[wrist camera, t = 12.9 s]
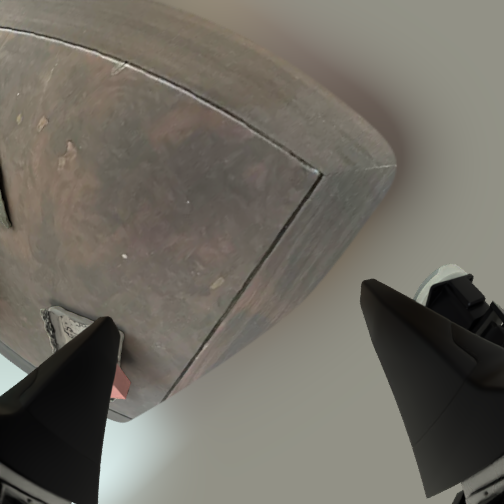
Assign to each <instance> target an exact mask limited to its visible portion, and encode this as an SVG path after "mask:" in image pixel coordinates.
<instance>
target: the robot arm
mask: <svg viewBox="0 0 504 504" xmlns="http://www.w3.org/2000/svg"><path fill="white" fill-rule="evenodd" d="M472 281H473V275H472V274H467V275H464V276H460V277H457V278H454V279H450V280H447V281H443V282H439V283H436V284H433V285H432V286H431V287H430V290H429V294H428V298H427V301H426V305H425V306H424V305H422V304H420V303H418V302H416V301H415V300H413V299H411V298H409V297H407V296H405V295H403V294H402V293H400V292H398V291H396V290H394V289H392V288H391V287H389V286H387V285H385V284H383V283H381V282H379V281H377V280H375V279H369V280H364V281H363V282H362V284H361V297H360V304H361V308H362V311H363V314H364V317H365V320H366V324H367V327H368V330H369V333H370V337H371V340H372V343H373V345H374V348H375V351H376V353H377V355H378V358H379V360H380V362H381V365H382V367H383V370H384V372H385V374H386V377H387V379H388V382H389V384H390V387H391V389H392V392H393V394H394V397H395V400H396V402H397V405H398V408H399V411H400V413H401V416H402V419H403V422H404V424H405V427H406V430H407V433H408V436H409V439H410V442H411V445H412V447H413V452H414V455H415V458H416V461H417V465H418V468H419V472H420V475H421V479H422V482H423V486H424V490H425V494H426V497H427V498H430V497H432V496H434V495H436V494H439V493H441V492H443V491H444V490H447V489H449V488H451V487H453V486H455V485H457V484H458V483H460V482H461V484H462V487H463V490H462V491H460V492H459V493H457V495H456V497H455V499H454V501H453V503H452V504H504V310H503V309H502V308H501V307H500V306H498V305H497V304H496V303H495V302H494V301H492V303H491V304H490V306H489V305H488V304H487V303H486V302H485V297H484V295H483V294H482V293H481V292H480V291H479V290H478V289H477V288H476V287H475V286H474V285H473V284H472ZM502 322H503V325H502V326H501V324H502ZM120 339H121V336H120V332H119V330H118V328H117V327H116V325H115V323H114V322H113V320H112V318H111V317H109V316H106V317H100V318H98V319H97V320H96V321H95V322H93V323H92V324H91V325H89V326H88V327H87V328H86V329H84V330H83V331H82V332H80V333H79V334H78V335H77V336H75V337H74V338H73V339H72V340H70V341H69V342H68V343H67V344H65V345H64V346H63V347H62V348H60V349H59V350H58V351H57V352H55V353H54V354H53V355H52V356H51V357H49V358H48V359H47V360H46V361H44V362H43V363H42V364H41V365H40V366H39V367H37V368H36V369H35V370H34V371H32V372H31V373H30V374H29V375H28V376H26V377H25V378H24V379H23V380H21V381H20V382H19V383H17V384H16V385H15V386H13V387H12V388H11V389H9V390H8V391H7V392H5V393H4V394H3V395H1V396H0V504H71V502H73V503H75V504H98V489H99V476H100V463H101V455H102V446H103V439H104V432H105V426H106V420H107V414H108V408H109V403H110V398H111V393H112V388H113V383H114V379H115V374H116V367H117V360H118V353H119V346H120Z"/></svg>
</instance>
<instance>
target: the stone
mask: <svg viewBox="0 0 504 504" xmlns="http://www.w3.org/2000/svg"><path fill="white" fill-rule="evenodd" d="M0 221H1V222H2V224H3V225H5V226H6V227H7V228H10V227H11V224H10V222H9V220H8V217H7V214H6V211H5V207H4V201H3V199H2V196H1V191H0Z"/></svg>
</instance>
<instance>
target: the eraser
mask: <svg viewBox="0 0 504 504" xmlns="http://www.w3.org/2000/svg"><path fill="white" fill-rule="evenodd" d="M130 384H131V382H130V380H129V379H128V378H127V376H126V375H125V374H124V372H123V371H122V370H121V368H120V367H119V366H118V364H117V367H116V374H115V379H114V383H113V388H112V393H111V398H119V399H126V396H127V393H128V390H129V387H130Z"/></svg>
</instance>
